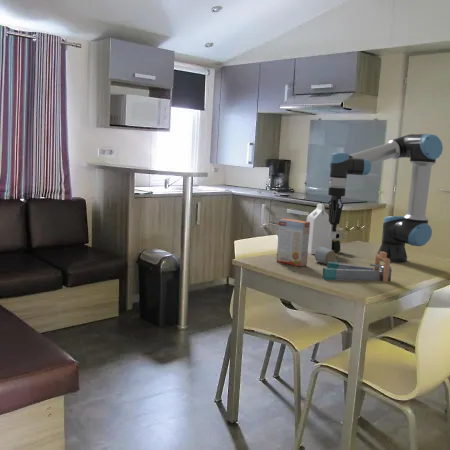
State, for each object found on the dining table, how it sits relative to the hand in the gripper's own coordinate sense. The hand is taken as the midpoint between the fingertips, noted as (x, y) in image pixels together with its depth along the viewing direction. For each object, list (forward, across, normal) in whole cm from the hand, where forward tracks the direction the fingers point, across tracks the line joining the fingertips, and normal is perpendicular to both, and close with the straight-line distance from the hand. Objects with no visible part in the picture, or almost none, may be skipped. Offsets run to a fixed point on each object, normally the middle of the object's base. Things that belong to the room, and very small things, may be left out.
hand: (332, 238), depth 238 cm
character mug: (+14, -42, +17) cm, 48 cm away
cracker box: (+15, -9, -16) cm, 23 cm away
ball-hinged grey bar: (+14, +19, +6) cm, 24 cm away
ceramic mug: (+15, -12, +3) cm, 19 cm away
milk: (+15, -39, +6) cm, 42 cm away
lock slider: (+14, +17, +17) cm, 28 cm away
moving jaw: (+14, +13, +9) cm, 21 cm away
